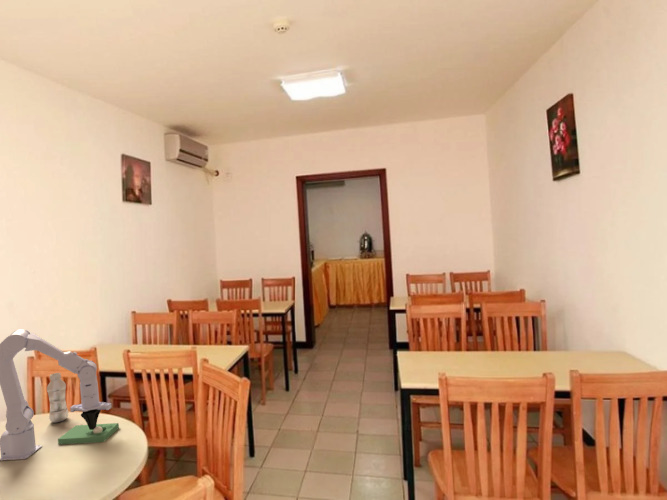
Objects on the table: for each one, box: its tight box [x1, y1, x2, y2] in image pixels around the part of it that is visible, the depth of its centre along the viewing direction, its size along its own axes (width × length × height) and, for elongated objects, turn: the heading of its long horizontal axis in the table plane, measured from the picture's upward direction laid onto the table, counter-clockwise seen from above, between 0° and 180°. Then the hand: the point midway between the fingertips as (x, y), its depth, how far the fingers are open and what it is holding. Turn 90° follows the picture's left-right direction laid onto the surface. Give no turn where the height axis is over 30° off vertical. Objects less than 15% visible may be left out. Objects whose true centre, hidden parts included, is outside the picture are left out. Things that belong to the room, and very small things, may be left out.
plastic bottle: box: [46, 372, 69, 424], centre depth 162 cm, size 6×7×20 cm
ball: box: [93, 426, 103, 434], centre depth 148 cm, size 3×3×3 cm
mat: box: [57, 422, 120, 445], centre depth 148 cm, size 17×10×2 cm, turn 90°
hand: (92, 428), depth 148 cm, fingers closed
